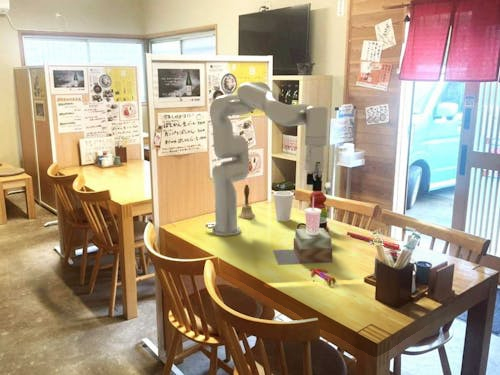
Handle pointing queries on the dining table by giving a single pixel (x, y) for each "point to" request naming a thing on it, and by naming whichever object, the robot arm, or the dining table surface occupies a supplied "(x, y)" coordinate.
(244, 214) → the hand bell
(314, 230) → the beverage cup
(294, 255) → the base board
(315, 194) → the stacking bear
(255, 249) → the dining table surface
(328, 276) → the toy figure
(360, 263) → the dining table surface
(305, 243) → the marbled stone cube
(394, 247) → the long red tool
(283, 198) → the foam cup
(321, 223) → the coffee mug
